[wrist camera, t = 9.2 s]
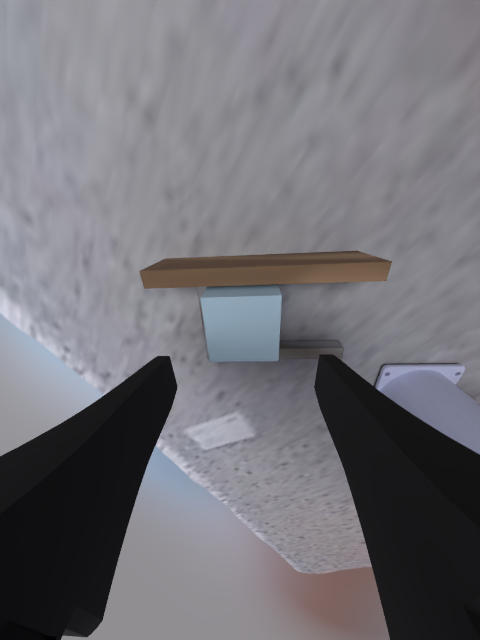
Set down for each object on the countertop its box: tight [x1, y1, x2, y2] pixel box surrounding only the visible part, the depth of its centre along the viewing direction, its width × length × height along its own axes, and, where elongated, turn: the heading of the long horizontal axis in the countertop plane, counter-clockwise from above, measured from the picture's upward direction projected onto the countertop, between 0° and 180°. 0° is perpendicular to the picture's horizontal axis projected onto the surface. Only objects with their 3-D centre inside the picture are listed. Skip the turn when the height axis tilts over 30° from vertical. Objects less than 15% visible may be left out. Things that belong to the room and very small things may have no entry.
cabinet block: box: [200, 284, 282, 362], centre depth 16 cm, size 6×5×6 cm
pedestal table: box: [140, 251, 392, 359], centre depth 17 cm, size 10×16×4 cm, turn 93°
